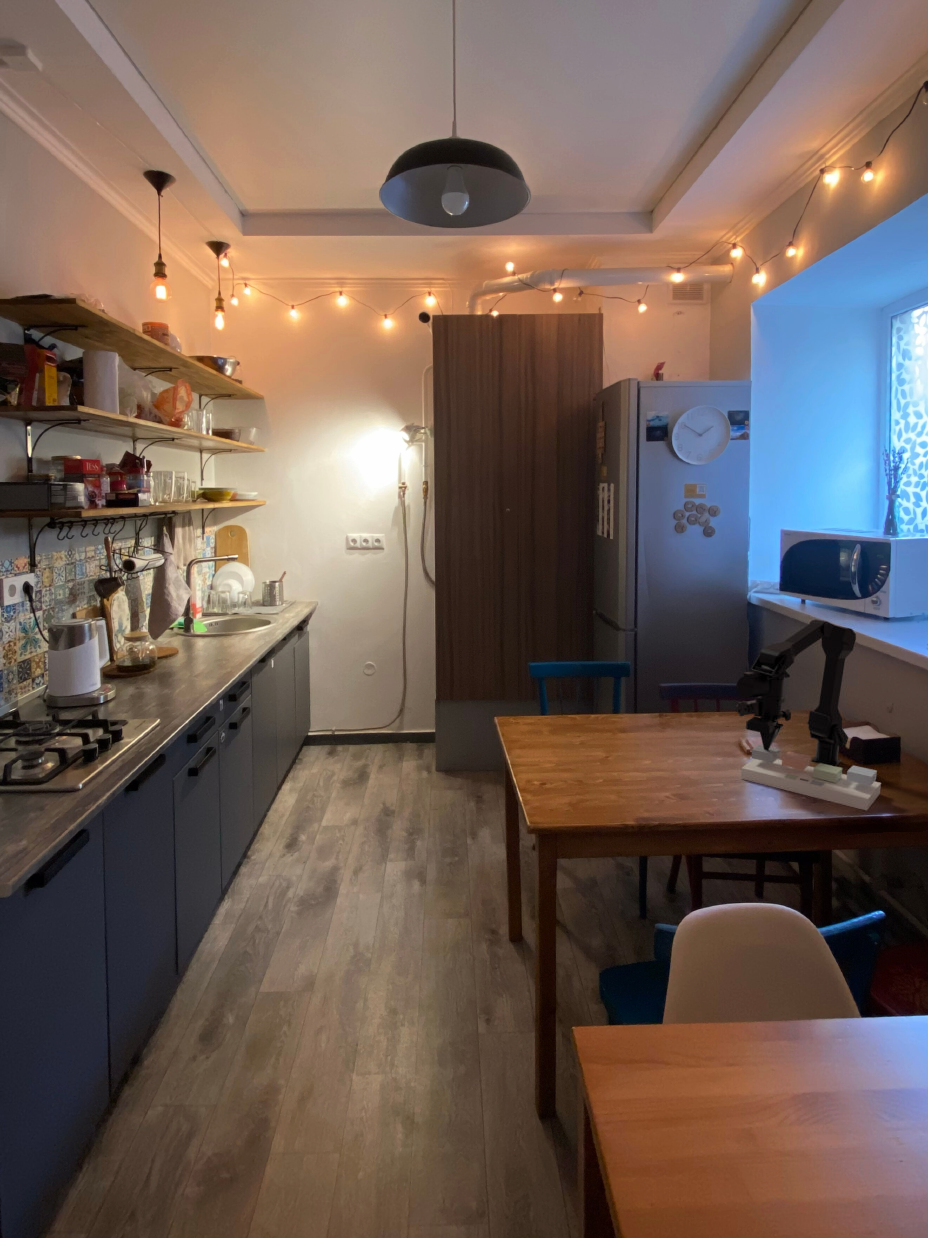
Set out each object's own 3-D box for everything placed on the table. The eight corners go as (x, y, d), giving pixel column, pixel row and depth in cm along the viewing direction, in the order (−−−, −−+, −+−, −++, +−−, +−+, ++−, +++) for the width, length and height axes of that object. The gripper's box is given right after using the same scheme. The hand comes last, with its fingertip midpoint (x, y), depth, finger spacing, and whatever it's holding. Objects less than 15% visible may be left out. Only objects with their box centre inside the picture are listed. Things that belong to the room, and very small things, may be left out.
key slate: (758, 753, 216) (759, 744, 215) (779, 757, 212) (780, 749, 212) (751, 758, 211) (752, 749, 211) (772, 763, 208) (773, 754, 207)
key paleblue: (852, 774, 201) (853, 765, 200) (875, 779, 197) (876, 770, 197) (846, 780, 196) (847, 771, 196) (870, 786, 193) (871, 776, 192)
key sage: (818, 771, 206) (819, 763, 205) (841, 776, 202) (842, 768, 202) (812, 777, 202) (813, 768, 201) (835, 782, 198) (836, 773, 198)
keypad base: (758, 765, 219) (759, 754, 219) (879, 794, 200) (881, 782, 199) (740, 778, 209) (741, 767, 208) (866, 810, 189) (868, 798, 189)
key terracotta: (788, 759, 211) (789, 751, 210) (809, 764, 207) (810, 756, 207) (781, 765, 206) (782, 756, 206) (803, 770, 203) (804, 761, 202)
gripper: (753, 682, 221) (749, 735, 223) (728, 695, 207) (724, 751, 209) (793, 689, 214) (788, 744, 217) (771, 703, 200) (766, 761, 202)
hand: (766, 749), depth 211 cm, fingers closed, pressing on key slate
